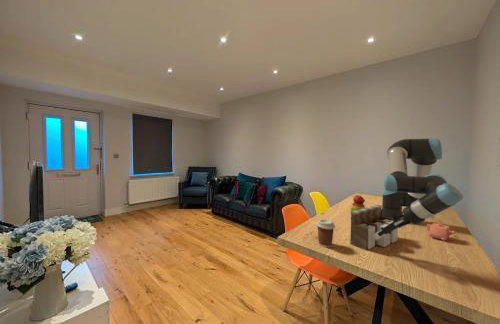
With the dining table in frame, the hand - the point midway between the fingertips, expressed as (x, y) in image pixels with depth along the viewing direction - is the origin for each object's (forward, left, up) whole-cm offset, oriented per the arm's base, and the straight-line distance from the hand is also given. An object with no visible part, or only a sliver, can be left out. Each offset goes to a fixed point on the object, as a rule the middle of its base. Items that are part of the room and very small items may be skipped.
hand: (374, 237), depth 99 cm
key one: (-18, -1, -6) cm, 19 cm away
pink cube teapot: (-45, +13, -6) cm, 48 cm away
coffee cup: (+16, -17, -6) cm, 24 cm away
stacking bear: (-37, -29, -6) cm, 47 cm away
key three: (0, -4, -6) cm, 7 cm away
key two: (-9, -1, -6) cm, 11 cm away
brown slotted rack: (-9, -6, -6) cm, 12 cm away
